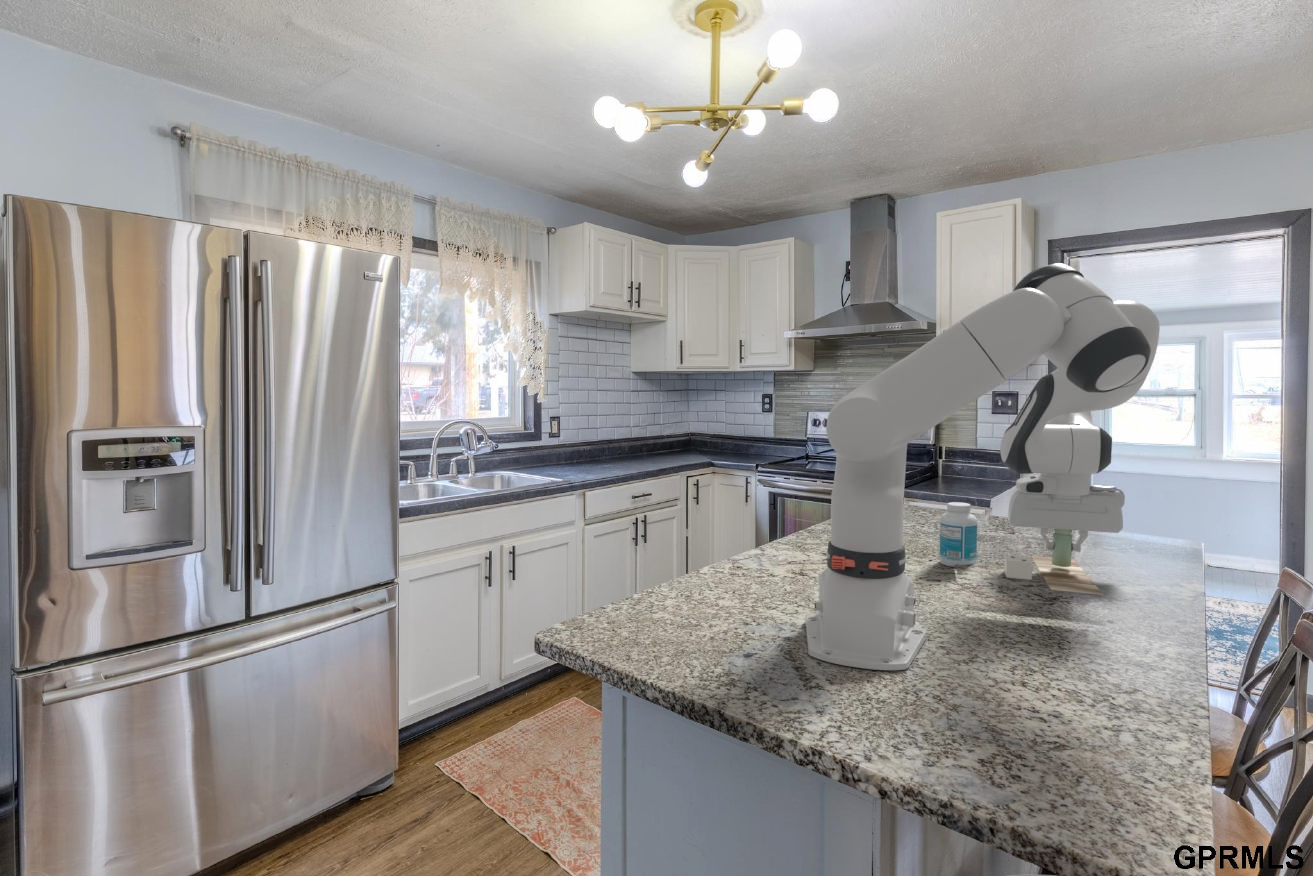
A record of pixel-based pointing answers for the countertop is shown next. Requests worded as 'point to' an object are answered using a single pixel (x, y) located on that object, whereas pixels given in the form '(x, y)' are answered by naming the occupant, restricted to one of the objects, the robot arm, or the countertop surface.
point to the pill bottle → (958, 535)
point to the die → (1018, 567)
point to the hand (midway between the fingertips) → (1062, 550)
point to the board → (1065, 576)
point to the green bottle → (1062, 547)
